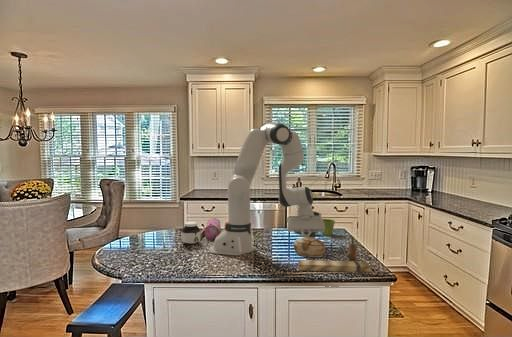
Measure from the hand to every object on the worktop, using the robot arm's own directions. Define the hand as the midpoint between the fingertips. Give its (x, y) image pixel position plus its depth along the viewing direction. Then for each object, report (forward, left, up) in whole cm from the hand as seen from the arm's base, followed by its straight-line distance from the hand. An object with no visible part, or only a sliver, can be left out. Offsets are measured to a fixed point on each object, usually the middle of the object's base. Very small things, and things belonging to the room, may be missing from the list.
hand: (306, 238), depth 170 cm
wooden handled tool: (+19, -23, -5) cm, 30 cm away
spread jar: (-64, +4, -5) cm, 64 cm away
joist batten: (+9, -32, -5) cm, 33 cm away
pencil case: (-55, +22, -5) cm, 60 cm away
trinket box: (+1, -11, -5) cm, 12 cm away
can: (+1, +33, -5) cm, 33 cm away
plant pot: (+15, +28, -5) cm, 32 cm away
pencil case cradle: (-55, +22, -5) cm, 60 cm away
